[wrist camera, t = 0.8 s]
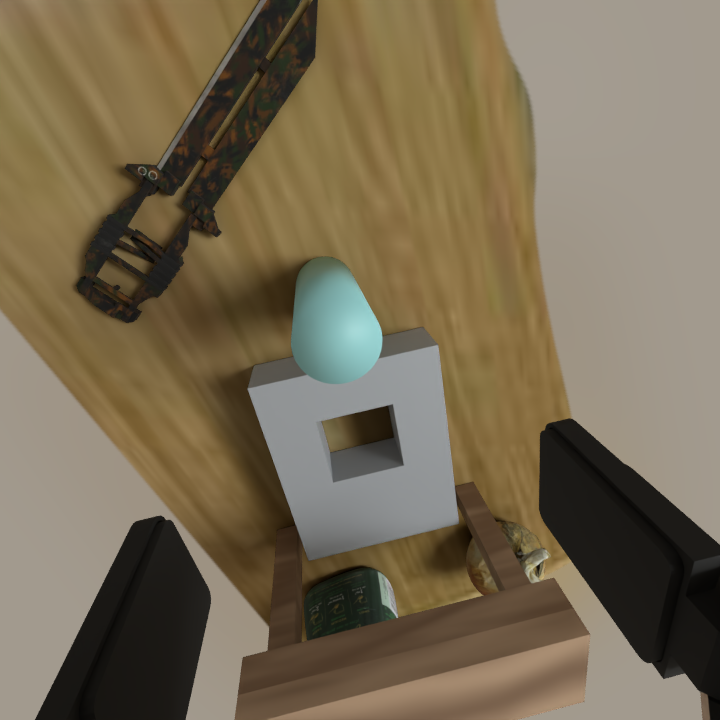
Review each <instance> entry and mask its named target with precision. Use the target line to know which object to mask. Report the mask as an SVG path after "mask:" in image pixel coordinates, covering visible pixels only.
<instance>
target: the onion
mask: <svg viewBox="0 0 720 720" xmlns="http://www.w3.org/2000/svg"><path fill="white" fill-rule="evenodd" d="M496 523H497V524H498V526H499V528H500V530H501V531H502V533H503V535H504V537H505V538H506V540H507V542H508V544H509V545H510V547H511V549H512V551H513V552H514V554H515V556H516V558H517V559H518V561H519V563H520V565H521V566H522V568H523V570H524V572H525V573H526V575H527V577H528V579H529V580H530V582H531V583H535V582H539V581H543V579H544V574H545V565H546V563H545V559H547V558H549V557H551V556H550V554H549V553H548V551H547V550H546V549H545V548H543V547H542V545H541V543H540V541H539V539H538V538H537V536H536V535H534V534H533V533H532V532H530V531H529V530H528V529H526V528H525V527H523V526H521V525H519V524H517V523H514V522H502V521H500V522H496ZM466 567H467V571H468V574H469V577H470V579H471V581H472V583H473V585H474V586H475V587H476V589H477V590H478V591H479V592H480V593H481V594H482V595H488V594H492V593H496V592H499V590H498V588H497V586H496V584H495V582H494V580H493V578H492V576H491V574H490V572H489V570H488V568H487V565H486V563H485V561H484V559H483V557H482V555H481V553H480V551H479V549H478V547H477V545H476V543H475V540H474V538H473V537H472V539H471V542H470V544H469V547H468V550H467V556H466Z"/></svg>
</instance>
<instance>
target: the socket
mask: <svg viewBox="0 0 720 720" xmlns="http://www.w3.org/2000/svg"><path fill="white" fill-rule="evenodd" d="M248 392H249V394H250V397H251V400H252V403H253V406H254V408H255V411H256V414H257V417H258V420H259V422H260V425H261V428H262V431H263V434H264V436H265V439H266V442H267V445H268V448H269V451H270V453H271V456H272V459H273V462H274V465H275V467H276V470H277V473H278V476H279V479H280V481H281V484H282V487H283V490H284V493H285V496H286V498H287V501H288V504H289V507H290V510H291V512H292V515H293V518H294V521H295V524H296V526H297V529H298V532H299V535H300V538H301V541H302V543H303V546H304V549H305V552H306V555H307V557H308V560H309V561H310V560H314V559H319V558H323V557H327V556H331V555H335V554H339V553H343V552H347V551H351V550H355V549H359V548H363V547H367V546H371V545H375V544H379V543H383V542H387V541H391V540H395V539H399V538H403V537H407V536H411V535H415V534H419V533H423V532H427V531H431V530H435V529H439V528H443V527H448V526H452V525H456V524H459V519H458V511H457V502H456V493H455V485H454V476H453V468H452V459H451V451H450V442H449V434H448V425H447V416H446V408H445V399H444V391H443V382H442V374H441V365H440V356H439V348H438V344H437V343H436V342H435V341H434V339H433V338H432V337H431V336H430V335H429V333H428V332H427V331H426V330H425V329H424V328H423V327H421V328H417V329H412V330H408V331H404V332H399V333H395V334H390V335H386V336H382V349H381V353H380V356H379V358H378V360H377V361H376V363H375V365H374V366H373V367H372V368H371V369H370V370H369V371H368V372H367V373H366V374H365V375H363V376H362V377H360V378H358V379H356V380H354V381H352V382H348V383H343V384H328V383H323V382H320V381H317V380H315V379H313V378H311V377H310V376H308V375H307V374H306V373H305V372H304V371H303V370H302V369H301V368H300V367H299V366H298V364H297V362H296V361H295V359H294V357H289V358H285V359H281V360H276V361H272V362H267V363H263V364H259V365H254V367H253V371H252V375H251V378H250V382H249V385H248ZM387 405H388V408H389V413H390V418H391V424H392V429H393V434H394V438H390V439H386V440H382V441H378V442H374V443H369V444H365V445H361V446H357V447H353V448H348V449H344V450H340V451H336V452H332V453H330V451H329V447H328V443H327V440H326V436H325V432H324V429H323V425H322V422H321V421H323V420H328V419H332V418H336V417H340V416H345V415H349V414H353V413H357V412H362V411H366V410H370V409H374V408H379V407H383V406H387Z"/></svg>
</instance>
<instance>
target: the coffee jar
mask: <svg viewBox="0 0 720 720" xmlns="http://www.w3.org/2000/svg"><path fill="white" fill-rule="evenodd" d="M304 615H305V627H306V635H307V641H309V640H312V639H316V638H320V637H324V636H328V635H332V634H336V633H340V632H344V631H348V630H351V629H355V628H359V627H363V626H367V625H371V624H375V623H379V622H383V621H387V620H391V619H394V618H398V613H397V607H396V601H395V597H394V592H393V589H392V587H391V584H390V582H389V581H388V579H387V578H386V577H385V575H384V574H383V573H381V572H380V571H378V570H375V569H372V568H360V569H356V570H352V571H349V572H346V573H343V574H340V575H338V576H335V577H333V578H331V579H328V580H326V581H324V582H322V583H320V584H318V585H316V586H314V587H313V588H312V589H311V590H310V591H309V592H308V593H307V595H306V597H305V600H304Z"/></svg>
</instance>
